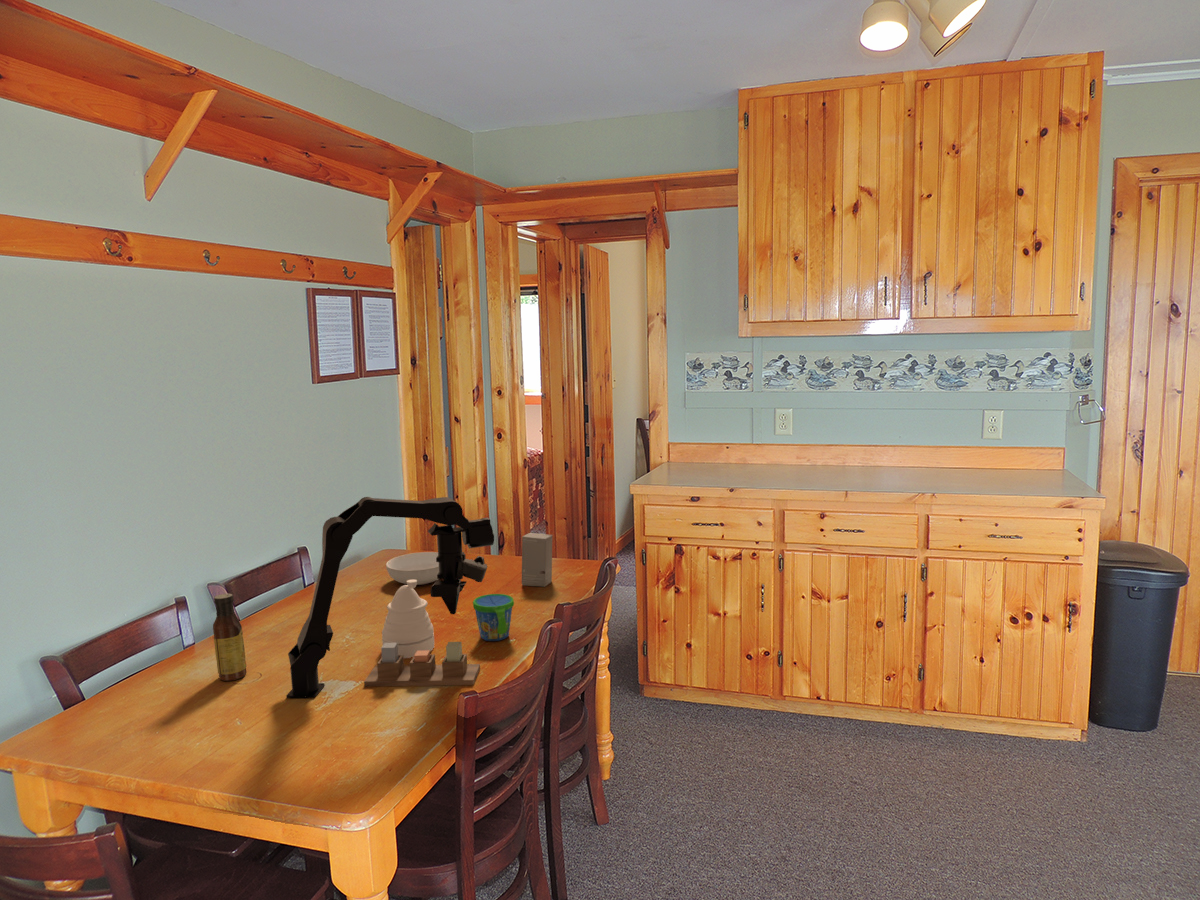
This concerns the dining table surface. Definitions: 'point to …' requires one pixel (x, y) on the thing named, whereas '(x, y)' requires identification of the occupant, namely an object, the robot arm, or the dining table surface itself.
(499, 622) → the snack cup
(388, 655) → the grey chamfered block
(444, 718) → the dining table surface
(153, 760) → the dining table surface
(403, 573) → the serving bowl
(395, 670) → the brown block rack
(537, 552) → the skincare box
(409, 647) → the honey pot
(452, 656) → the beige rectangular block
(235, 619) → the sauce bottle
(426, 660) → the orange rectangular block
